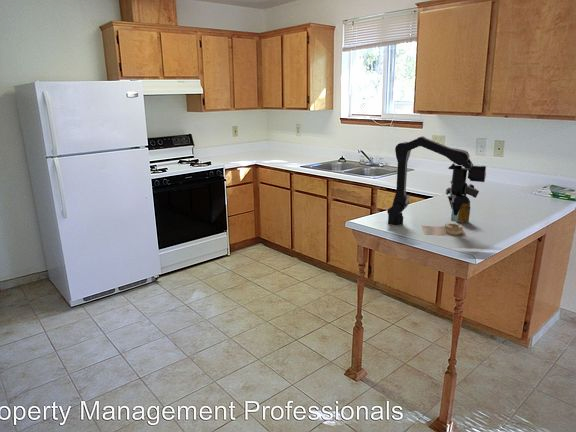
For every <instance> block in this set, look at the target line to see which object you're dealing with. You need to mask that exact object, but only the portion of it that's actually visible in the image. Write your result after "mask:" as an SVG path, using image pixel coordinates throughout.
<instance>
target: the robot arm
mask: <svg viewBox="0 0 576 432" xmlns="http://www.w3.org/2000/svg"><path fill="white" fill-rule="evenodd" d="M419 147H422V148H424V149H427V150H429V151H431V152H433V153H436V154H438V155H441V156H443V157H445V158H447V159H448V160H449V161H450V162H452V164H451V165H449V166H448V167H447V168H448V169H449V170H452V178H451V180H450V184H451V186H450V187H448V188H446V190H445V195H447V200H448V203H449V206H450V210H452V208H453V212H454V215H457V214H458V212H459V209H460V207H461V205H462V204H469V201H470V198H469V197H468V196H467V195H469V196H470V197H473V198H474V199H475V198H477V197H478V195H479V193H480V190H478V189H477V188H475V185H474V184H472V183H470V184H468V183H467V182H466V181H467V179H469V181H470V182H477V183H485V181H486V176H487V173H486V172H487V171H486V170H487V165H474V164H473V162H472V161H471V159H470V154H469V152H468V151H467V150H464V149H459V148H453V147H450V146H447V145H444V144H442V143H440V142H437V141H434V140H432V139H430V138H427V137H426V136H419V137H416V138H415V139H413V140H410V141H402V142H399V143H398V144H396V146H395V149H394V152H395V157H396V161H397V169H396V172H397V174H396V190H395V191H396V192H395V195H394V197H393V202H392V205H391V207H390V208H388V209H387V211H386V212H387V217H388V218H387V224H388V225H391V226H399V225H400V226H401V225H403V224H404V215H403V211H404V210H405V209H406V208H407V207H408V206H409V205H410V197H411V196H410V195H407V175H408V161H409V159H410V156H411V151H412V150H413V149H416V148H419Z"/></svg>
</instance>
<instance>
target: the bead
mask: <svg viewBox="0 0 576 432" xmlns="http://www.w3.org/2000/svg"><path fill="white" fill-rule="evenodd" d="M444 227H445V229H444V231H445V232H446V233H449V234H461V233H462V229H463V228H464V227H463V225H462V224H461V223H457V222H455V223H454V222H448V223H445V224H444Z"/></svg>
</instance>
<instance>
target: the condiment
mask: <svg viewBox="0 0 576 432" xmlns="http://www.w3.org/2000/svg"><path fill="white" fill-rule="evenodd" d="M470 215H471V200H469V204H462V205H461V207H460V209H459V213H458V221H457V222H456V224H460V225H462V224H465V225H466V224H469V223H470Z"/></svg>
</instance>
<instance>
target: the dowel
mask: <svg viewBox="0 0 576 432" xmlns="http://www.w3.org/2000/svg"><path fill="white" fill-rule="evenodd" d="M458 213H459V212H458ZM450 221H451V222H453V223H454V222H455V223H457V221H458V214H457V215H454V212H453V208H452V209H451V216H450Z"/></svg>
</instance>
